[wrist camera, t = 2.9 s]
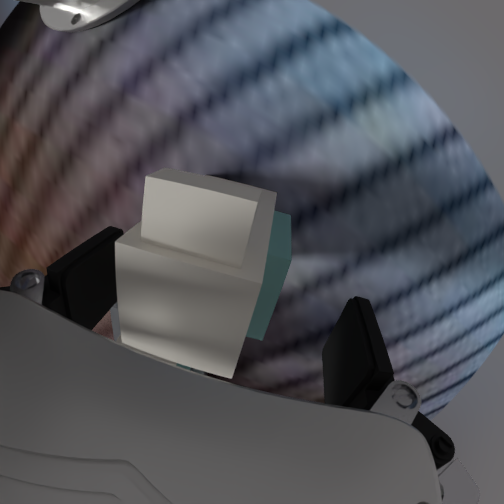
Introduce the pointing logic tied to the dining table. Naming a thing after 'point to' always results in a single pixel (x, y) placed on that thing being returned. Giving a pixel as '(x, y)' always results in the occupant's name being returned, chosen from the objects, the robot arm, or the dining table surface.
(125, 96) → the dining table surface
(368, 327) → the robot arm
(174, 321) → the finger loose
